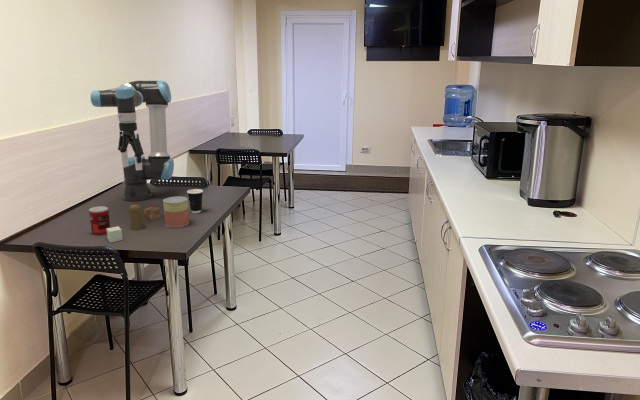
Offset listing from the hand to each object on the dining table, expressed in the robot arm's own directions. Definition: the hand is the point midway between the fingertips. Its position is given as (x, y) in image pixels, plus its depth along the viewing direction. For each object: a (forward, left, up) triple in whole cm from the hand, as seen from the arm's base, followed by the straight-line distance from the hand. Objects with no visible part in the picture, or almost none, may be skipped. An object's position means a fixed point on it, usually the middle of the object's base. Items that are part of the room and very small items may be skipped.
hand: (132, 167), depth 222 cm
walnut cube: (-1, +8, -27) cm, 28 cm away
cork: (+7, -4, -27) cm, 28 cm away
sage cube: (+15, -18, -27) cm, 36 cm away
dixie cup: (+5, +29, -27) cm, 40 cm away
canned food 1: (+1, -18, -27) cm, 32 cm away
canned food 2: (+15, +12, -27) cm, 33 cm away
